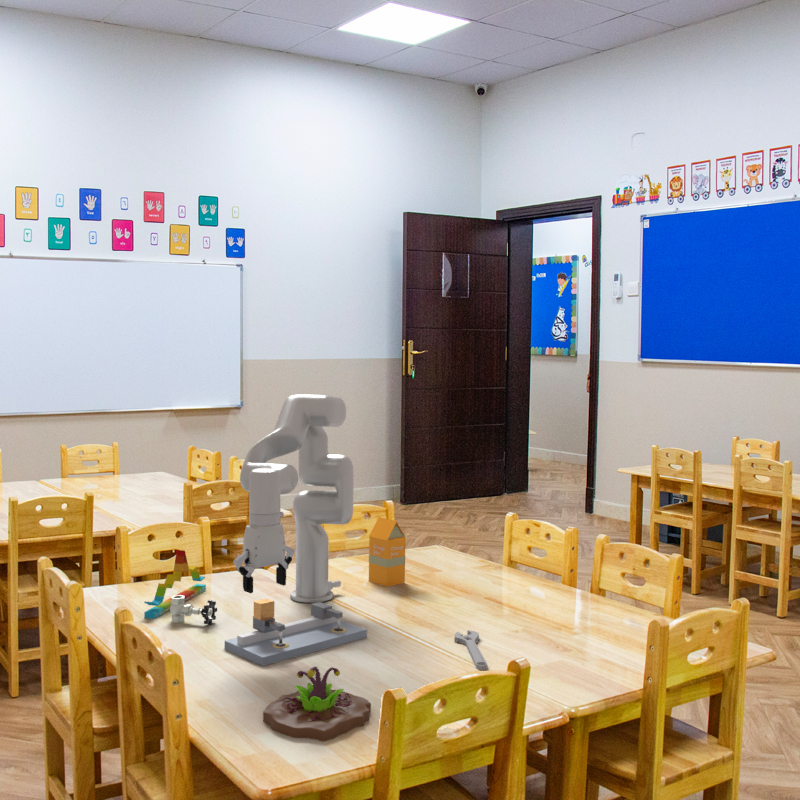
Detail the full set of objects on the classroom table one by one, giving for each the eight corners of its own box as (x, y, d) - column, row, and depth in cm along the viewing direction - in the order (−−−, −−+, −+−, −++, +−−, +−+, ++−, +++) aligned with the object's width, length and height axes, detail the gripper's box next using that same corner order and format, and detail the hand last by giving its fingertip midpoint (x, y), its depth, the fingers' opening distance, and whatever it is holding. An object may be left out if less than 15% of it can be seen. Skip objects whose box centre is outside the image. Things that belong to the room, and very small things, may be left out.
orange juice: (386, 577, 292) (387, 515, 290) (405, 582, 285) (406, 519, 284) (368, 581, 286) (368, 518, 285) (386, 586, 280) (387, 522, 279)
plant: (245, 726, 176) (245, 670, 176) (302, 693, 193) (303, 642, 193) (332, 749, 167) (332, 690, 166) (384, 712, 184) (385, 658, 183)
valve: (164, 624, 239) (205, 628, 236) (164, 599, 239) (205, 603, 236) (177, 617, 246) (217, 621, 242) (177, 593, 245) (217, 597, 242)
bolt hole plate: (327, 622, 242) (327, 596, 242) (366, 637, 231) (367, 610, 230) (224, 648, 220) (224, 620, 220) (262, 666, 209) (262, 636, 208)
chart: (155, 619, 243) (155, 564, 243) (144, 618, 244) (144, 563, 243) (206, 591, 273) (206, 541, 272) (196, 590, 274) (197, 541, 273)
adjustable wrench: (488, 672, 209) (488, 664, 209) (460, 671, 209) (460, 664, 209) (477, 636, 234) (477, 630, 234) (452, 636, 234) (453, 629, 234)
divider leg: (264, 631, 225) (264, 597, 225) (288, 641, 218) (289, 606, 217) (251, 635, 222) (251, 600, 222) (275, 645, 215) (275, 609, 215)
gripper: (284, 512, 229) (284, 578, 231) (225, 521, 217) (226, 591, 219) (302, 516, 224) (302, 584, 225) (243, 527, 212) (243, 598, 213)
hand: (264, 588), depth 222 cm, fingers open, 9 cm apart
